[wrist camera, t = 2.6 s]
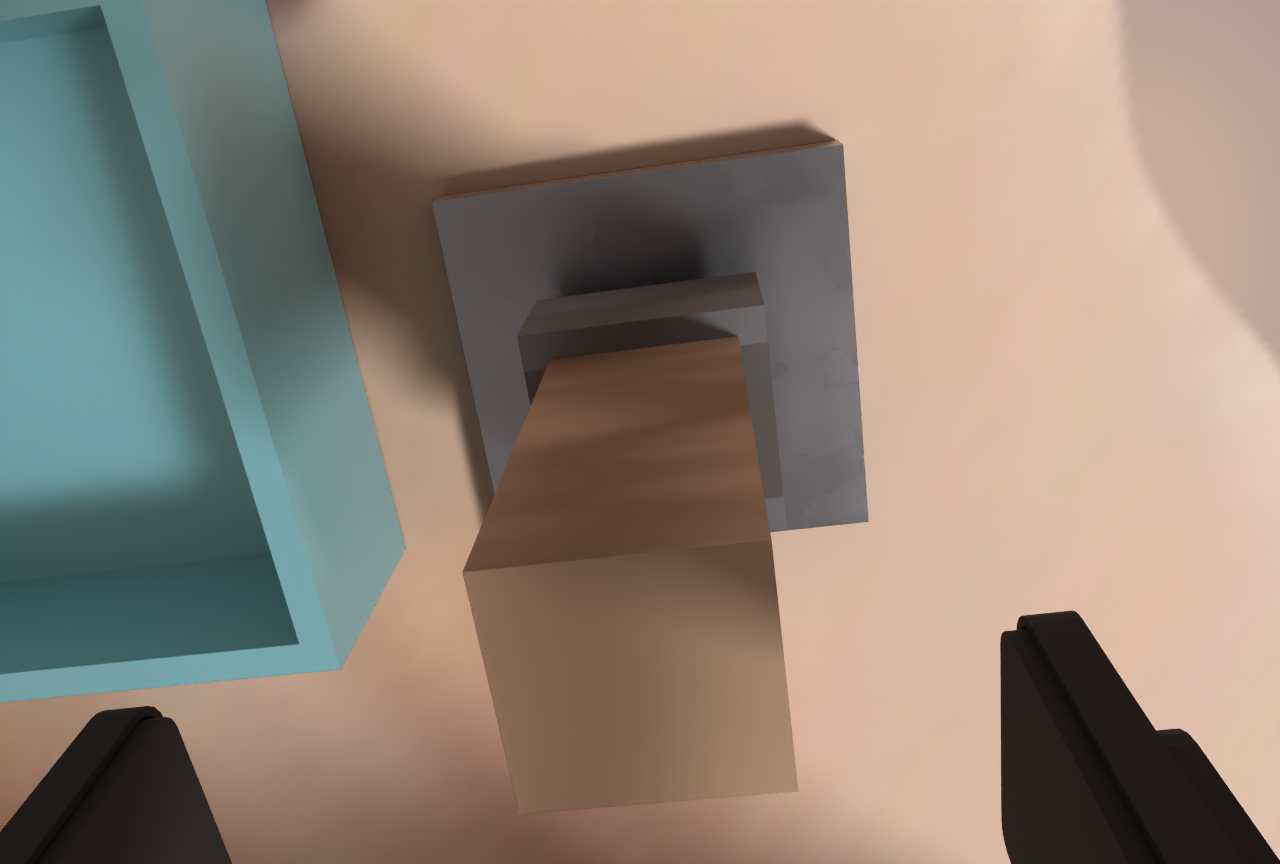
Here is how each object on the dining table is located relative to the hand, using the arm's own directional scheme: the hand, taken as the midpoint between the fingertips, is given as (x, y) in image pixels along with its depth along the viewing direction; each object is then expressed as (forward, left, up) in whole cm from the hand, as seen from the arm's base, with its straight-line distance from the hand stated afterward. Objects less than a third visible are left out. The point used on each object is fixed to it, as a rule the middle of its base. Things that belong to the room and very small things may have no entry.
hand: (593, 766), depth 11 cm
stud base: (0, +1, -17) cm, 17 cm away
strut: (0, +1, -14) cm, 14 cm away
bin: (+16, -2, -17) cm, 23 cm away
